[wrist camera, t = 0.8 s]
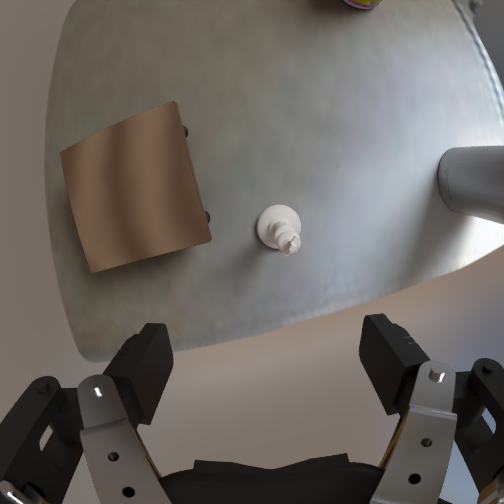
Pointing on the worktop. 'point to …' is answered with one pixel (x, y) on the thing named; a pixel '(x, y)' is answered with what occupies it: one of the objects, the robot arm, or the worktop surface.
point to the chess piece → (280, 228)
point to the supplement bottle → (363, 3)
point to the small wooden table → (135, 190)
